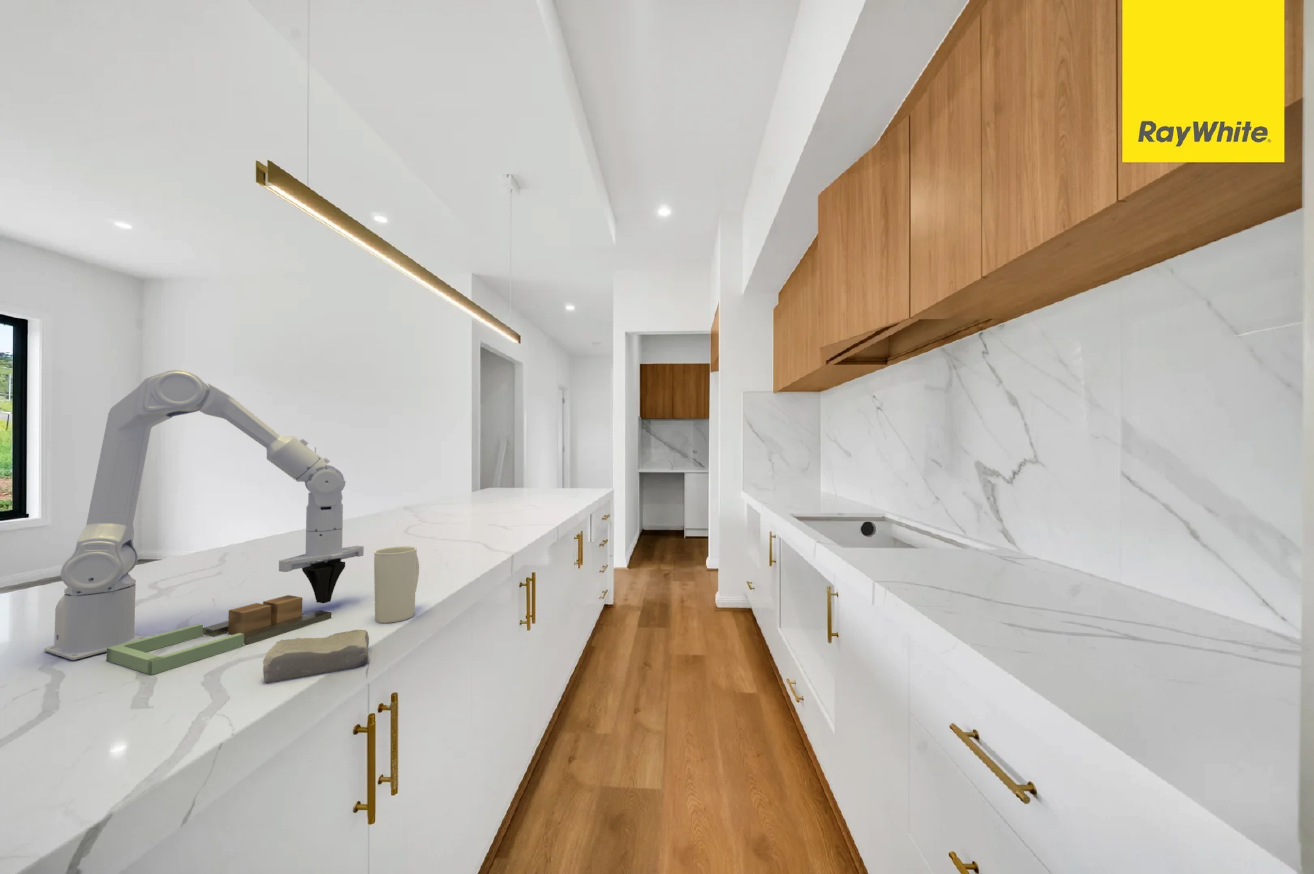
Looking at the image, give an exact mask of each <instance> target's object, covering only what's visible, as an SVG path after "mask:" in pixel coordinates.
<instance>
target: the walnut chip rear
mask: <svg viewBox="0 0 1314 874" xmlns="http://www.w3.org/2000/svg"><path fill="white" fill-rule="evenodd" d="M262 604H264V605H270V606H271V625H272V624H275V623H279V622H282V621H286V620H289V619H292V618H296V617H299V616H302V615H303V597H302V596H296V595H289V594H287V595H282V596H279V597H275V598H272V599H268V600H264V601H263V602H262Z"/></svg>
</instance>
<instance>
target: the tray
mask: <svg viewBox="0 0 1314 874" xmlns="http://www.w3.org/2000/svg"><path fill="white" fill-rule="evenodd" d="M203 628H204V624H201V623H196V624H193V625H189V626H185V627H181V628H177V629H174V630H170V631H167V632H161V633H158V634H155V635H150V636H147V637H146V636H145V637H146V638H143V639H139V640H135V641H131V642H127V643H124V644H120V645H116V646H112V647H108V648H107V651H106V656H105V657H106V660H105V661H107V662H109V663H113V664H117V665H118V666H122V667H125V668H128V669H131V670H134V671H138V672H141V673H144V674H147V675H151V676H153V675H156V674H160V673H163V672H166V671H168V670H172V669H175V668H179V667H182V666H184V665H188V664H191V663H194V662H196V661H197V662H198V661H201V660H204V659H206V658H210V657H213V656H216V655H220V654H222V653H226V652H229V651H232V650H235V649H239V648H241V647H244V646H245V644H244V634H242V633H237V634H234V635H228V636H224V637H221V638H217V639H214V640H210V641H207V642H203V643H201V644H200V643H199V644H197V645H194V646H190V647H186V648H183V649H180V650H176V651H173V652H170V653H167V654H163V655H160V656H159V655H157V654H156V655H155V654H151V653H148V652H150V651H151V652H152V651H154V650H158V649H161V648H162V649H163V648H165V647H168V646H172V645H175V644H179V643H182V642H186V641H190V640H193V639H196V638H200V637H203V636H204V634H203Z"/></svg>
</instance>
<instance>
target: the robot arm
mask: <svg viewBox="0 0 1314 874" xmlns="http://www.w3.org/2000/svg"><path fill="white" fill-rule="evenodd" d="M197 412H200V413H203V414H204V415H207V416H209V417H210V416H212V417H215V418H219V419H224V420H226V421H227V422H229V423H230V424H231V425H233V426H234V427H235V428H237V429H239V430H240V431H241V432H243V433H244V434H246V435H247V436H248V437H250V438H251V439H253V440H254V441H255V442H257V443H258V444H260V445H261V446H263V447H264V448H265V449H266V460H267V461H269V462H270V463H271V464H272V465H274V466H275V467H276V468H278V469H279V470H281V471H283V472H284V473H285V474H287V475H288V477H291V478H292V479H293V480H295V481H296V482H297V483H298V482H299V483H300V482H302V483H304V485H305V488H306V490H308V499H307V506H306V508H305V509H306V512H305V514H306V518H305V519H306V521H305V553H303V554H299V555H295V556H292V557H289V558H285V559H284V558H283V559H280V560H278V572H283V573H288V572H292V571H294V570H298V569H299V570H300V569H301V571H302V572H303V573H304V575H305V576H306V578H307V580H308V581H309V583H310V586H311V588H312V590H313V594H314V597H315V601H316V603H317V604H326V603H329V602H330V603H331V600H332V597H333V593H334V590H335V587H336V584H337V582H338V580H339V578H340V576H341V575H342V572H343V570H345V568H346V561H342V560H347V559H351V558H356V557H357V558H358V557H359V558H360V557H363V556H364V549H365V548H364V546H363V545H353V546H346V547H343V527H344V526H343V525H344V524H343V522H344V521H343V519H344V516H343V514H344V511H343V510H344V505H343V503H342V501H343V494H342V493H343V492H342V491H343V490H344V489H345V487H346V483H347V481H346V480H345V477H344V475H343V473H342V472H341V471H340V470H339V469H338V468H336V467H335V466H333V465H329V463H330V462H331V461H330V459H328V458H327V457H324V458H323V457H322V456H321V455H320V454H318V453H316V451H314V450H313V449H311V448H310V447H309V446H307V445H309V442H308V441H307V440H305V439H304V438H301V439H299V438H297V437H296V436H290V435H289V436H281V435H280V434H279V433H277V432H276V431H275V430H274V429H273V428H271V427H270V426H269V425H268V424H267V423H265V422H264V421H263V420H261V419H260V418H259V417H258V416H256V415H255V413H253V412H252V411H250V410H249V409H248V408H247V407H245V406H244V405H243V404H242V403H241V402H240V401H238V400H236V398H235V397H233V396H231V395H229V394H227V393H226V392H224V391H222V390H221V389H220V388H218V387H216V386H215V385H213V384H211V383H209V382H207V383H205V382H204V381H203V380H202V379H201V377H199V376H198V375H197V374H195V373H193V372H191V371H188V370H183V369H170V370H165V371H163V372H160V373H157V374H153V375H150V376H148V377H146V378H144V379H143V380H142V382H141V383H140V384H139V385H138V386H137V387H135V388H134V389H133V390H132V391H130V393H128V394H127V395H125V396H124V397H123V398H122V399H120V400H119V401H118V402H117V403H115V404H114V405H112V406H111V408H110V409H109V412H108V414H107V419H106V424H105V429H104V435H103V439H102V445H101V448H100V455H99V459H98V463H97V464H98V465H97V467H96V468H97V469H96V474H95V477H94V478H95V480H94V484H93V489H92V495H91V499H90V504H89V510H88V515H87V519H86V522H85V523H86V525H85V527H84V529H83V530H82V532H81V534H80V536H79V538H78V539H77V541H76V546H75V548H74V551H73V553H72V554H71V556H70V557H69V558H68V559H66V561H65V562H64V563H63V565H62V566H61V570H60V577H61V580H62V582H63V584H64V585H66V588H64V591H63V593H64V595H62V597H61V598H60V599H59V601H58V602H57V603H56V605H55V609H54V610H55V613H54V640H53V641H54V642H53V645H49V646H46V647H44V650H43V651H45V652H47V653H49V654H53V655H56V656H58V657H59V656H60V657H61V658H65V659H68V660H71V661H75V660H76V661H77V660H78V659H84V658H86V657H92V656H94V655H99V654H103V653H107V648H108V647H112V646H116V645H120V644H124V643H127V642H131V641H135V640H139V639H143V638H146V636H143V635H140V634H136V633H135V624H136V623H135V620H136V619H135V618H136V617H135V616H136V589H137V587H136V583H137V581H136V579H134V578H133V577H132V576H131V574H130V572H131V571H132V570H133V569H134V568H135V567H136V565H137V564H138V561H139V555H138V551H137V549H136V547H135V546H134V536H135V529H134V522H135V521H134V520H135V515H136V510H137V504H138V499H139V494H140V489H141V482H142V479H143V478H142V477H143V475H144V474H143V473H144V468H145V462H146V458H147V452H148V447H149V446H148V445H149V441H150V435H151V433H152V432H151V431H152V428H153V427H156V426H157V425H159V424H161V423H163V422H166V421H167V420H170V419H172V418H173V417H177V416H180V415H181V416H182V415H187V414H193V413H197Z"/></svg>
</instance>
